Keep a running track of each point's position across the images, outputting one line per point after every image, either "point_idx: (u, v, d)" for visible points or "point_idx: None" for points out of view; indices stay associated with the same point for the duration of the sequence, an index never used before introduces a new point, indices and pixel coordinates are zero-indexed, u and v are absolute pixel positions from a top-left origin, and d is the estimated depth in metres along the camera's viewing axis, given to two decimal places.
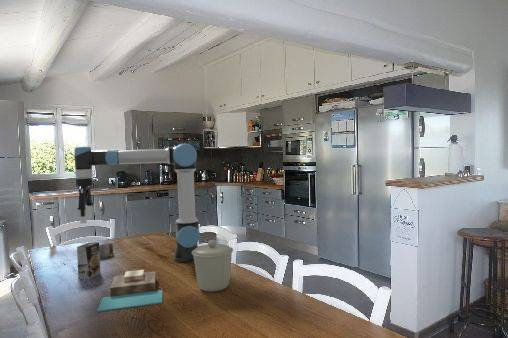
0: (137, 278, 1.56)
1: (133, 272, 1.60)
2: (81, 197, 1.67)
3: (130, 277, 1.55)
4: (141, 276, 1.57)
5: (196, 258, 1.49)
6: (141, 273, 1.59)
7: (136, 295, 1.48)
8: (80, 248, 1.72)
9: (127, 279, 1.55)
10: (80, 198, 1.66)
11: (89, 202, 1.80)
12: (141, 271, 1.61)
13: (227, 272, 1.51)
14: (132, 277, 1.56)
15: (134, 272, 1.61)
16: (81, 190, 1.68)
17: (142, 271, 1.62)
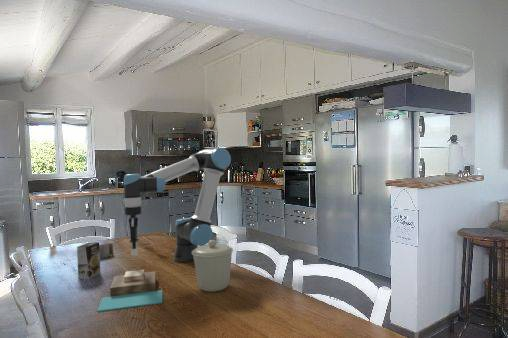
0: (137, 278, 1.56)
1: (133, 272, 1.60)
2: (133, 231, 1.65)
3: (130, 277, 1.55)
4: (141, 276, 1.57)
5: (196, 258, 1.49)
6: (141, 273, 1.59)
7: (136, 295, 1.48)
8: (80, 248, 1.72)
9: (127, 279, 1.55)
10: (131, 232, 1.65)
11: (135, 235, 1.70)
12: (141, 271, 1.61)
13: (227, 272, 1.51)
14: (132, 277, 1.56)
15: (134, 272, 1.61)
16: (132, 225, 1.63)
17: (142, 271, 1.62)
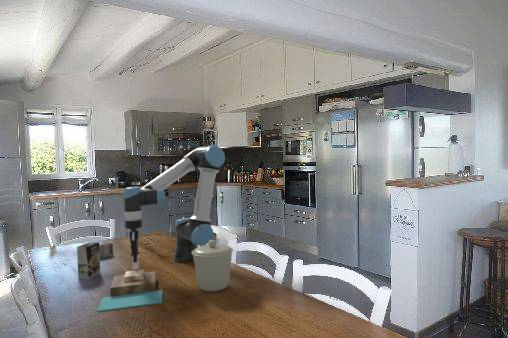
0: (137, 278, 1.56)
1: (133, 272, 1.60)
2: (133, 245, 1.64)
3: (130, 277, 1.55)
4: (141, 276, 1.57)
5: (196, 258, 1.49)
6: (141, 273, 1.59)
7: (136, 295, 1.48)
8: (80, 248, 1.72)
9: (127, 279, 1.55)
10: (132, 246, 1.64)
11: None
12: (141, 271, 1.61)
13: (227, 272, 1.51)
14: (132, 277, 1.56)
15: (134, 272, 1.61)
16: (132, 239, 1.63)
17: (142, 271, 1.62)
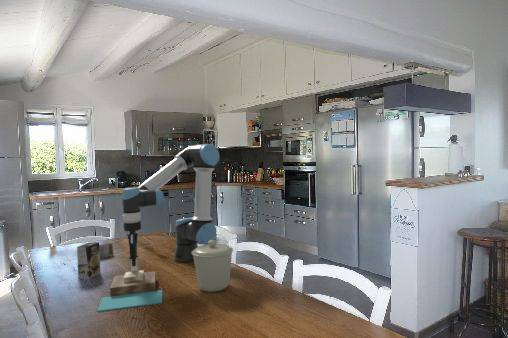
0: (137, 279, 1.55)
1: (133, 273, 1.59)
2: (132, 248, 1.58)
3: (130, 278, 1.54)
4: (141, 277, 1.56)
5: (196, 258, 1.49)
6: (141, 274, 1.58)
7: (136, 295, 1.48)
8: (80, 248, 1.72)
9: (127, 280, 1.54)
10: (131, 249, 1.58)
11: None
12: (141, 272, 1.60)
13: (227, 272, 1.51)
14: (132, 278, 1.55)
15: (134, 272, 1.60)
16: (131, 241, 1.57)
17: (142, 272, 1.61)
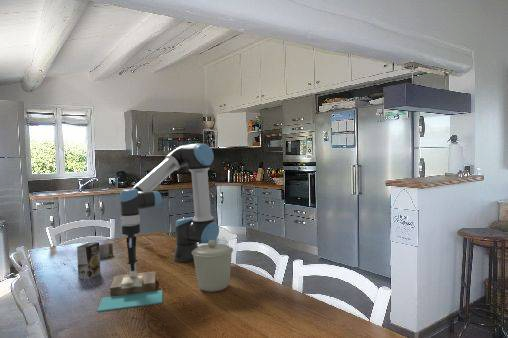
0: (135, 285, 1.48)
1: (131, 279, 1.52)
2: (131, 252, 1.51)
3: (127, 284, 1.47)
4: (139, 283, 1.48)
5: (196, 258, 1.49)
6: (139, 279, 1.50)
7: (136, 295, 1.48)
8: (80, 248, 1.72)
9: (124, 286, 1.47)
10: (129, 253, 1.51)
11: None
12: (140, 277, 1.53)
13: (227, 272, 1.51)
14: (130, 284, 1.47)
15: (132, 278, 1.53)
16: (129, 245, 1.49)
17: (140, 277, 1.53)
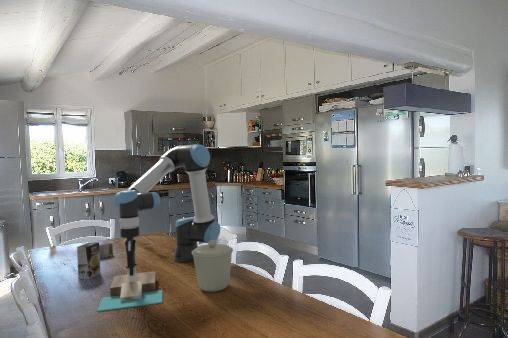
0: (135, 298, 1.43)
1: (130, 288, 1.46)
2: (130, 256, 1.45)
3: (127, 297, 1.42)
4: (139, 296, 1.43)
5: (196, 258, 1.49)
6: (139, 290, 1.45)
7: None
8: (80, 248, 1.72)
9: (124, 299, 1.42)
10: (128, 257, 1.45)
11: None
12: (139, 286, 1.47)
13: (227, 272, 1.51)
14: (129, 297, 1.42)
15: (131, 286, 1.47)
16: (128, 249, 1.44)
17: (140, 285, 1.48)
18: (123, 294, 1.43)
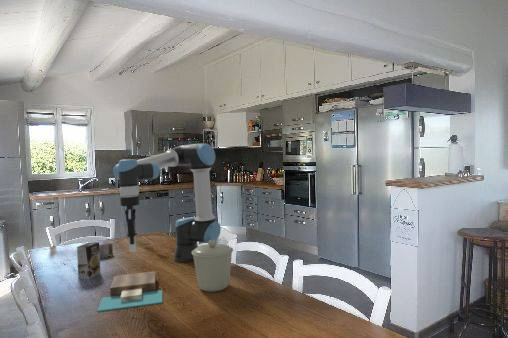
0: (135, 298, 1.43)
1: (130, 291, 1.47)
2: (130, 224, 1.45)
3: (127, 297, 1.42)
4: (139, 296, 1.43)
5: (196, 258, 1.49)
6: (139, 292, 1.45)
7: None
8: (80, 248, 1.72)
9: (124, 299, 1.41)
10: (129, 225, 1.45)
11: None
12: (139, 290, 1.48)
13: (227, 272, 1.51)
14: (129, 297, 1.42)
15: (131, 290, 1.48)
16: (129, 217, 1.43)
17: (140, 290, 1.48)
18: (123, 295, 1.43)
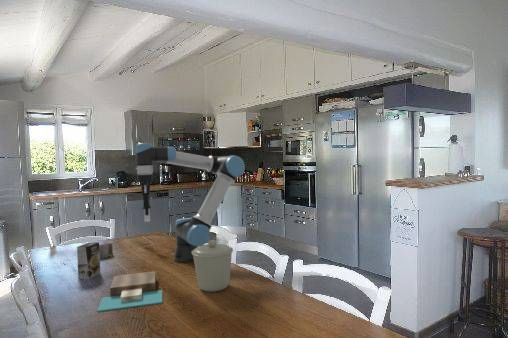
0: (135, 298, 1.43)
1: (130, 291, 1.47)
2: (145, 198, 1.71)
3: (127, 297, 1.42)
4: (139, 296, 1.43)
5: (196, 258, 1.49)
6: (139, 292, 1.45)
7: None
8: (80, 248, 1.72)
9: (124, 299, 1.41)
10: (144, 198, 1.71)
11: None
12: (139, 290, 1.48)
13: (227, 272, 1.51)
14: (129, 297, 1.42)
15: (131, 290, 1.48)
16: (145, 191, 1.69)
17: (140, 290, 1.48)
18: (123, 295, 1.43)
